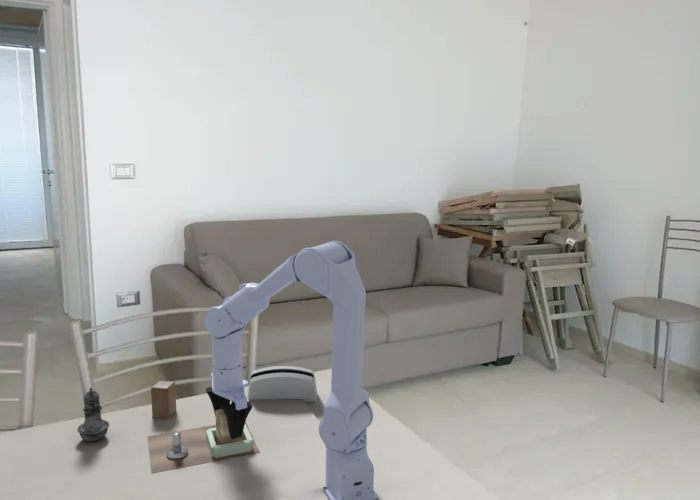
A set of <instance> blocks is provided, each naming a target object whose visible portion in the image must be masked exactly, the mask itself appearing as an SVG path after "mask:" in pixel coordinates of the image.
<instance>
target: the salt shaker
mask: <svg viewBox="0 0 700 500" xmlns="http://www.w3.org/2000/svg"><path fill="white" fill-rule="evenodd" d="M83 406H84V407H83V409H82V413H84V421H83V423H81V424H80V425H78V427H77V430H76V431H77V433H78V434H79V436H80V437H81V440H83V441H86V442H96V441H100V440H101V439H103V438H104V437H105V436H106V435H107V433H108V430H109V426H110V423H109V421H107V420H105V419H102V413H101V410H102V408H103V407H102V405H101V403H100V394H99V392H98V391H97V390H94V389H93V388H92V387H91V386H90V388H89V389H88V391H87V392H86V393H84V395H83Z"/></svg>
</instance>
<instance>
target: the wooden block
mask: <svg viewBox="0 0 700 500" xmlns="http://www.w3.org/2000/svg"><path fill="white" fill-rule="evenodd" d="M150 394H151V396H150V397H151V412H152V413H151V414H152V415H151V416H152V418H155V419H163V420H164V419H166V420H168V419H171V418H172V417H173V416H174V415H175V413H176V412H177V401H176V400H177V397H176V396H177V395H176V394H177V393H176V381H169V380H158V381H157V382H156V383H155V384H153V385H152V386H151V387H150Z"/></svg>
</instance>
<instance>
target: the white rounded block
mask: <svg viewBox="0 0 700 500" xmlns="http://www.w3.org/2000/svg"><path fill="white" fill-rule="evenodd" d="M315 377H316V376H315V373H314V371H313V370H312V369H310V368H309V369H308V368H305V367H301V366H294V365H293V366H292V365H278V366H277V365H276V366H269V367H268V366H267V367H263V368H262V367H261V368H259V369H254V370H253V371H252V372H251V373H250V375H249V380H248V391H247V401H250V400H252V401H253V400H256V401H257V400H294V399H296V400H297V399H298V400H299V399H300V400H301V399H302V400H303V402H305V403H307V402H308V403H310V402H312V403H313V402H314V403H316V402H318V390H317V384H316V378H315Z"/></svg>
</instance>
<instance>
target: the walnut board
mask: <svg viewBox="0 0 700 500" xmlns="http://www.w3.org/2000/svg"><path fill="white" fill-rule="evenodd" d="M245 424H246V426H247V428H248V430H249V433H250V435H251V437H252V439H253V450H251V451H250V452H245V453H239V454H234V455H229V456H224V457H218V458H215V457H212V456H211V453H210V450H209V447H208V443H207V440H206V431H207V430H208V429H211V428H216V424H213V425H207V426H201V427H196V428H190V429H183V430H179V431H176V432H181V446H183V447H186V448H187V449H188V455H187V456H186V457H184V458H182V459H178V460H171V459H168V458H167V456H166V452H167V451H168V450H169V449H170V448H173V442H172V433H174V432H175V431H172V432H166V433H161V434H160V433H159V434H154V435H148V436H147V442H148V443H147V444H148V453H149V454H148V456H149V462H150V463H149V465H150V471H151V472H150V473H151V474H156V473H161V472H166V471H171V470H177V469H182V468H186V467H192V466H197V465H203V464H208V463H213V462H218V461H222V460H228V459H235V458H238V457H243V456H249V455H250V456H251V455H254V454H260V453H261V452H260V449H259V447H258V445H257V443H256V441H255V439H254V437H253V435H252V432H251V430H250V428H249V426H248V424H247V421H245ZM243 441H244V440H243ZM215 443H216V439H215ZM216 445H218V444H217V443H216Z"/></svg>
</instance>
